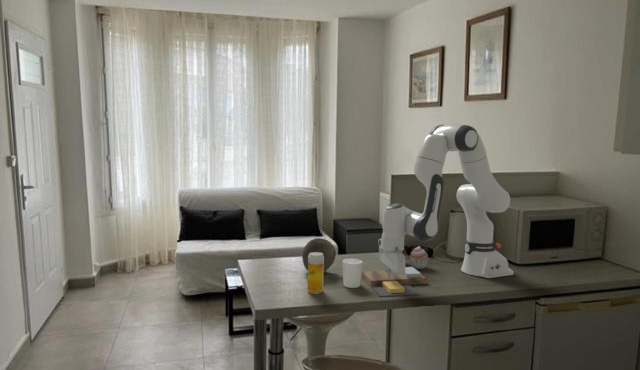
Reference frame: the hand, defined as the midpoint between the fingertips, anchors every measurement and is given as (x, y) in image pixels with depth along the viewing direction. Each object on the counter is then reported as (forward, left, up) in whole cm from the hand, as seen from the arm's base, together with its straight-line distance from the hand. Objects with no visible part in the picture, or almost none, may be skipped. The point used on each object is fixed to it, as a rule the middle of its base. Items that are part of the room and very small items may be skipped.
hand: (391, 278), depth 190 cm
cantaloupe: (+25, -23, -4) cm, 34 cm away
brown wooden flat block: (-4, -8, -4) cm, 9 cm away
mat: (0, +4, -4) cm, 6 cm away
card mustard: (0, +3, -3) cm, 4 cm away
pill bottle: (+31, 0, -4) cm, 31 cm away
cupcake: (-22, -24, -4) cm, 32 cm away
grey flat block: (-11, -8, -1) cm, 13 cm away
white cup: (+15, -5, -4) cm, 16 cm away
